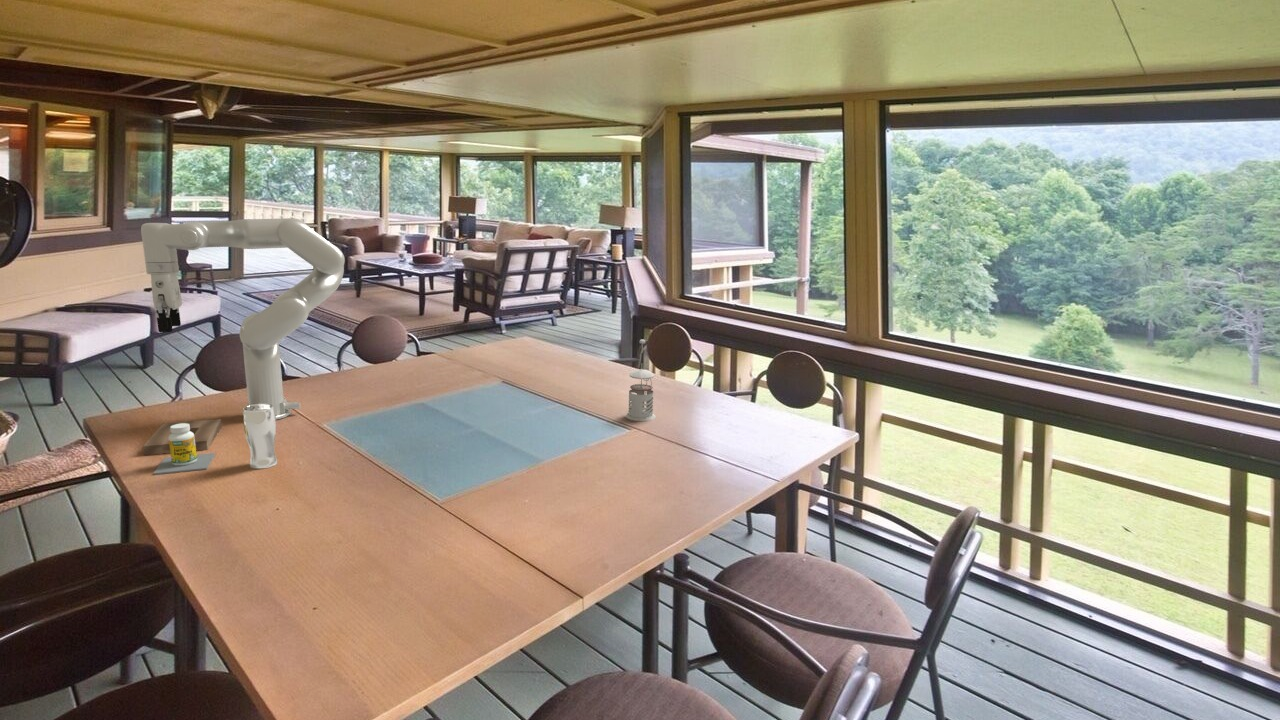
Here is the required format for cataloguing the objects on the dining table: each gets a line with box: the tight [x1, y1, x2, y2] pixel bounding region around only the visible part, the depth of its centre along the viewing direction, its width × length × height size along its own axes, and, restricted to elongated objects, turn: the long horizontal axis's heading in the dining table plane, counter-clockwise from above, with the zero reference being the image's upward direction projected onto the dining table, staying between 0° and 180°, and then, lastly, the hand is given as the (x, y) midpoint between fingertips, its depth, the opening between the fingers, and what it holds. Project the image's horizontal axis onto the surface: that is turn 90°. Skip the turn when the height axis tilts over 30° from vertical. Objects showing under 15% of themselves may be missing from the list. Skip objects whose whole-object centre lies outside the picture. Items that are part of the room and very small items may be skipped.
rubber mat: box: [152, 452, 216, 476], centre depth 172 cm, size 11×11×1 cm
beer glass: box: [242, 403, 278, 470], centre depth 172 cm, size 7×7×15 cm
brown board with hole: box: [143, 418, 222, 456], centre depth 189 cm, size 14×20×2 cm
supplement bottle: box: [168, 423, 198, 466], centre depth 171 cm, size 5×5×10 cm
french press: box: [625, 339, 657, 422], centre depth 219 cm, size 10×12×25 cm
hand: (170, 328), depth 196 cm, fingers open, 9 cm apart
